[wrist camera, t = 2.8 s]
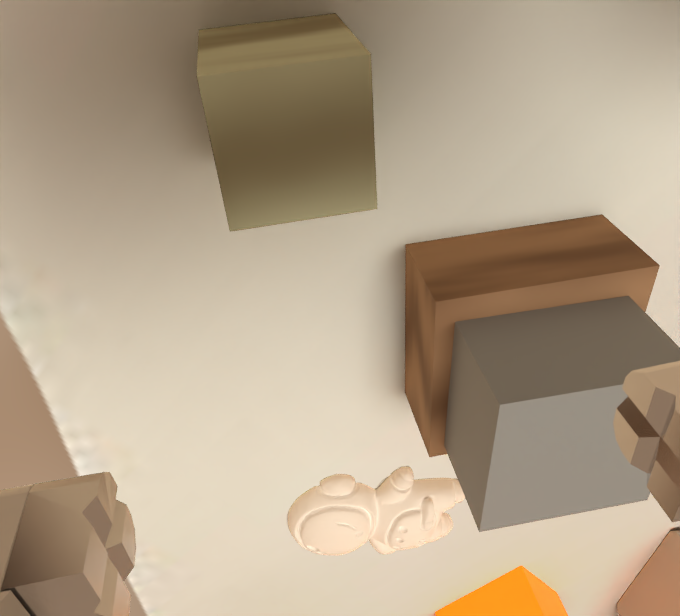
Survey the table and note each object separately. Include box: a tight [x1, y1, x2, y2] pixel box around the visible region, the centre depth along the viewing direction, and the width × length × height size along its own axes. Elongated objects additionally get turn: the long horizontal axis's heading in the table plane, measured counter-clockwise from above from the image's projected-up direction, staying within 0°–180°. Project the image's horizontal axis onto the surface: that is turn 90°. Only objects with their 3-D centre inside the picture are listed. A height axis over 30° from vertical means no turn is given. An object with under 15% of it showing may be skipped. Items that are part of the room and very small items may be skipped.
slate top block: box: [444, 296, 680, 532], centre depth 26 cm, size 8×8×5 cm
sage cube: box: [197, 13, 377, 231], centre depth 21 cm, size 5×5×6 cm
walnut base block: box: [405, 215, 660, 457], centre depth 30 cm, size 10×10×5 cm
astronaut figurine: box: [288, 467, 465, 555], centre depth 40 cm, size 9×12×3 cm
